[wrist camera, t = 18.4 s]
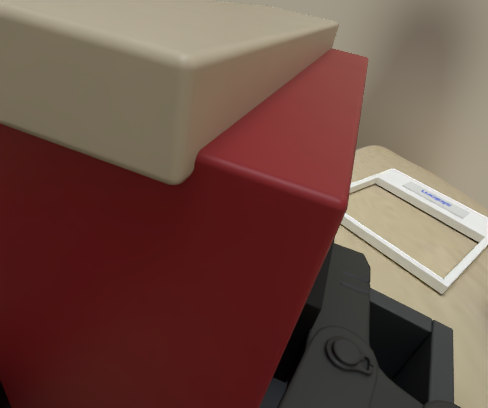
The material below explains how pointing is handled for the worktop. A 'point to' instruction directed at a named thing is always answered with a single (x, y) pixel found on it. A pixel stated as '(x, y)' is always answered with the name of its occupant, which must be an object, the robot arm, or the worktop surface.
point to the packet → (164, 195)
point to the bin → (402, 352)
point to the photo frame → (433, 204)
